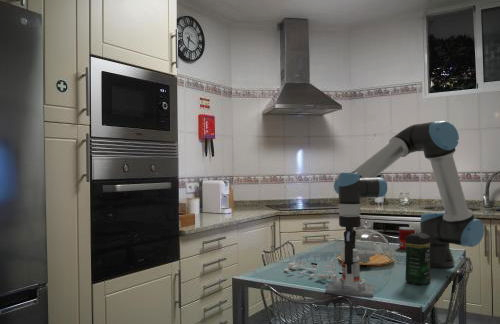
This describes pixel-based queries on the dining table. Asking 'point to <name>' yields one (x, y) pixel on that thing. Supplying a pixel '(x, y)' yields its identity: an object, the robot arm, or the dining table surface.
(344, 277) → the pill bottle
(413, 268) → the coffee jar
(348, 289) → the grey knobbed plate
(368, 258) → the showerhead
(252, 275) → the dining table surface
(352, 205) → the robot arm
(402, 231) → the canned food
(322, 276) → the miniature set
